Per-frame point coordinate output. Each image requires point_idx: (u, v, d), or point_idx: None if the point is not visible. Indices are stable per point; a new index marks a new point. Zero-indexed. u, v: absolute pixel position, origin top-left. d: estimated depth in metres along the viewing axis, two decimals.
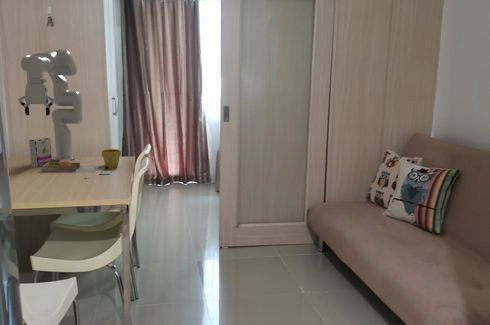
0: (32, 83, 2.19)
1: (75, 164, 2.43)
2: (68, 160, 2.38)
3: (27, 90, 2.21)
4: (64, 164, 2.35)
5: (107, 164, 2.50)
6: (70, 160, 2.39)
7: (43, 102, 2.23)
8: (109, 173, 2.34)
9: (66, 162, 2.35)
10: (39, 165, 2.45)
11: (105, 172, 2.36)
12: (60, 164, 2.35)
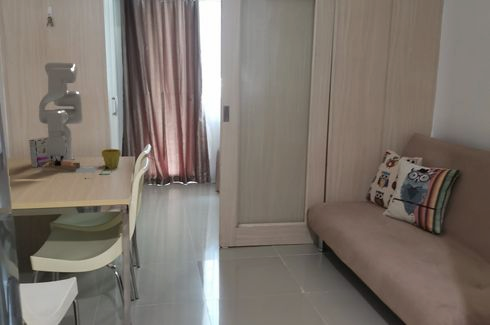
0: (53, 136, 2.31)
1: (75, 164, 2.43)
2: (70, 160, 2.38)
3: (48, 143, 2.32)
4: (66, 164, 2.35)
5: (107, 164, 2.50)
6: (72, 160, 2.39)
7: (63, 154, 2.35)
8: (109, 173, 2.34)
9: (68, 162, 2.35)
10: (39, 165, 2.45)
11: (105, 172, 2.36)
12: (62, 164, 2.35)
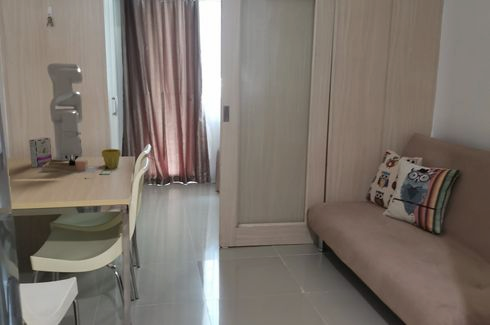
0: (68, 136, 2.32)
1: None
2: (84, 160, 2.39)
3: (63, 143, 2.33)
4: (80, 164, 2.36)
5: (107, 164, 2.50)
6: (86, 160, 2.39)
7: (78, 153, 2.36)
8: (109, 173, 2.34)
9: (82, 162, 2.36)
10: (39, 165, 2.45)
11: (105, 172, 2.36)
12: (76, 164, 2.36)
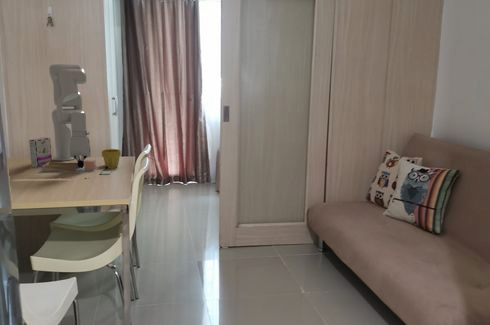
0: (77, 136, 2.32)
1: (75, 164, 2.43)
2: (93, 160, 2.39)
3: (72, 143, 2.34)
4: (89, 164, 2.36)
5: (107, 164, 2.50)
6: (95, 160, 2.40)
7: (86, 153, 2.36)
8: (109, 173, 2.34)
9: (91, 162, 2.36)
10: (39, 165, 2.45)
11: (105, 172, 2.36)
12: (85, 164, 2.36)
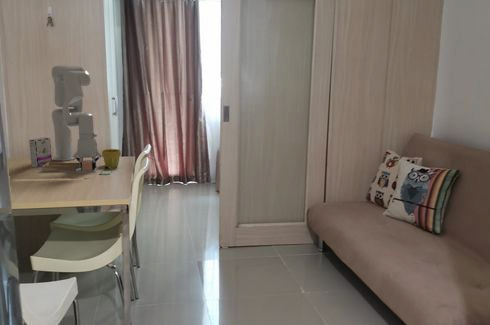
0: (84, 139, 2.33)
1: (75, 164, 2.43)
2: (90, 160, 2.39)
3: (79, 145, 2.35)
4: (87, 164, 2.36)
5: (107, 164, 2.50)
6: (92, 160, 2.40)
7: (94, 156, 2.37)
8: (109, 173, 2.34)
9: (89, 162, 2.36)
10: (39, 165, 2.45)
11: (105, 172, 2.36)
12: (83, 164, 2.36)
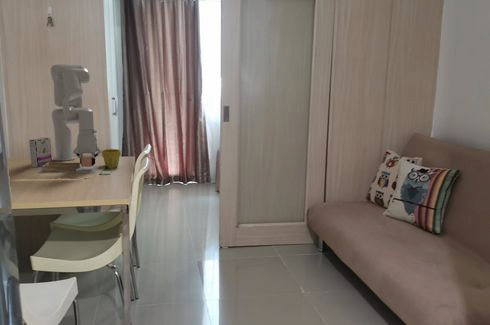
0: (84, 134, 2.33)
1: (75, 164, 2.43)
2: (90, 156, 2.39)
3: (79, 141, 2.35)
4: (86, 160, 2.36)
5: (107, 164, 2.50)
6: None
7: (93, 151, 2.37)
8: (109, 173, 2.34)
9: (88, 158, 2.36)
10: (39, 165, 2.45)
11: (105, 172, 2.36)
12: (82, 160, 2.36)
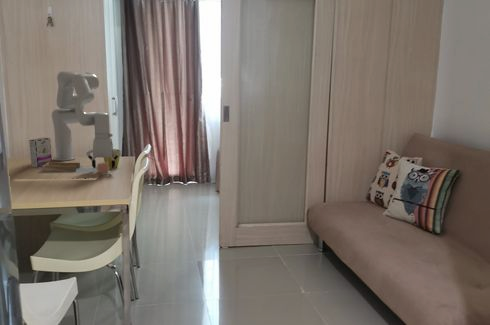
0: (100, 138, 2.30)
1: (75, 164, 2.43)
2: (106, 163, 2.36)
3: (95, 145, 2.31)
4: (103, 167, 2.33)
5: None
6: (108, 163, 2.37)
7: (109, 155, 2.34)
8: (109, 173, 2.34)
9: (105, 165, 2.33)
10: (39, 165, 2.45)
11: None
12: (99, 167, 2.33)
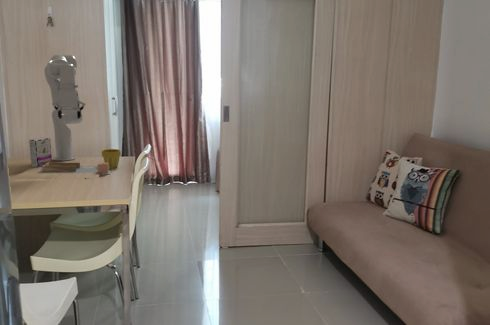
0: (65, 88, 2.36)
1: (75, 164, 2.43)
2: (106, 163, 2.36)
3: (60, 95, 2.37)
4: (103, 167, 2.33)
5: None
6: (108, 163, 2.37)
7: (75, 106, 2.40)
8: (109, 173, 2.34)
9: (105, 165, 2.33)
10: (39, 165, 2.45)
11: None
12: (99, 167, 2.33)
